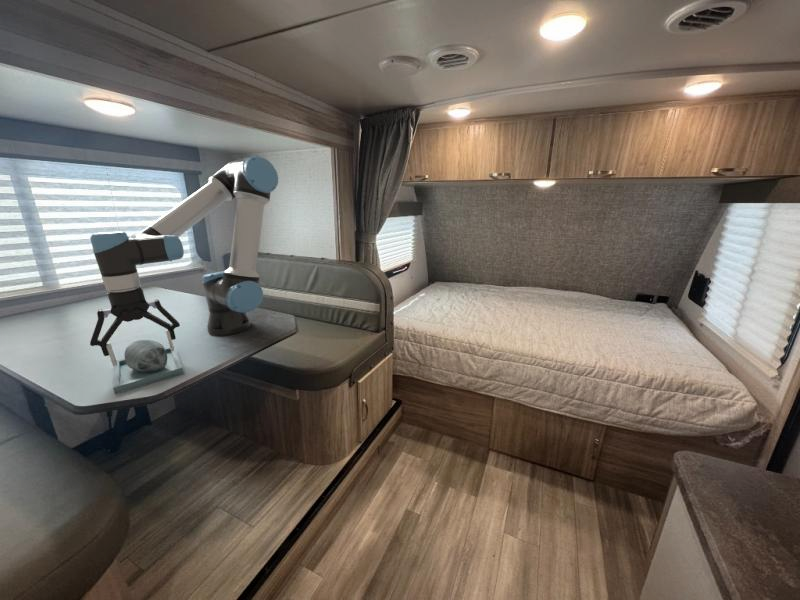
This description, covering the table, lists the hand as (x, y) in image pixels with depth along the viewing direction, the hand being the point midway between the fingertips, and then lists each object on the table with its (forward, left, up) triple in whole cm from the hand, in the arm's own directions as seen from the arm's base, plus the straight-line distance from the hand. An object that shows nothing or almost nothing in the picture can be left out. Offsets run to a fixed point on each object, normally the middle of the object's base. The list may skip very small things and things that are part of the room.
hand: (145, 356), depth 93 cm
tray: (0, 0, -4) cm, 4 cm away
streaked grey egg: (0, 0, -4) cm, 4 cm away
